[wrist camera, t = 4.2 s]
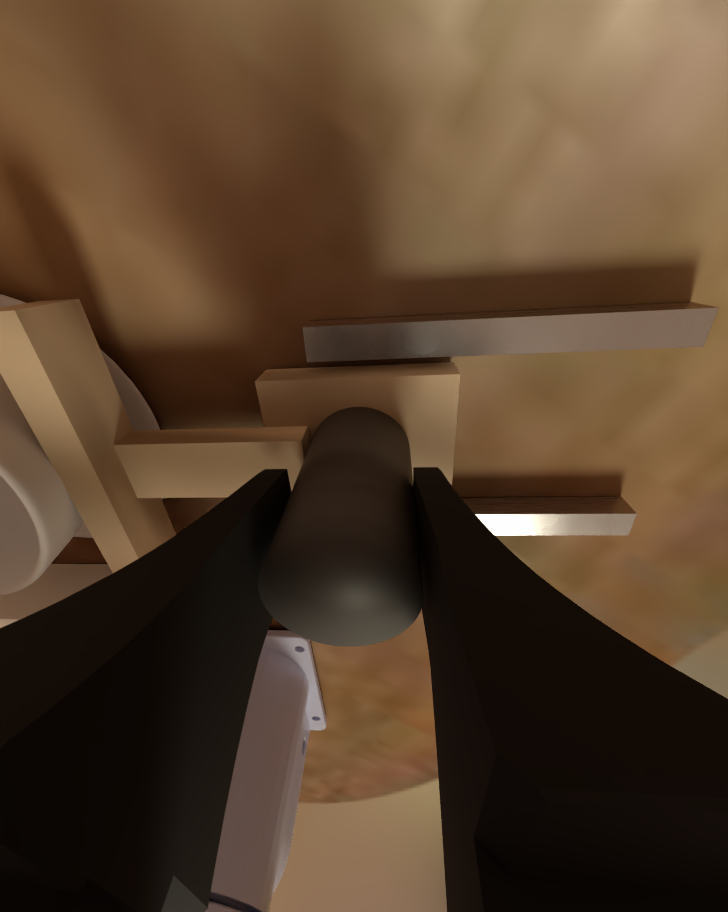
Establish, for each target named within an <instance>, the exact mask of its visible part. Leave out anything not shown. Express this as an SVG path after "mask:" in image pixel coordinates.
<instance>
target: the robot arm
mask: <svg viewBox="0 0 728 912" xmlns="http://www.w3.org/2000/svg"><path fill="white" fill-rule="evenodd" d="M413 492H414V503H415V514H416V521H417V528H418V539H419V549H420V560H421V571H422V581H423V593H424V599H423V605H422V613H423V619H424V625H425V631H426V637H427V643H428V650H429V658H430V666H431V679H432V692H433V705H434V719H435V732H436V746H437V760H438V775H439V790H440V804H441V819H442V835H443V850H444V867H445V882H446V899H447V912H728V699H727V698H725V697H723V696H722V695H720V694H718V693H716V692H715V691H713V690H711V689H710V688H708V687H706V686H704V685H703V684H701V683H699V682H697V681H696V680H693V679H692V678H690V677H689V676H687V675H685V674H683V673H682V672H679V671H678V670H676V669H675V668H673V667H671V666H669V665H668V664H666V663H664V662H663V661H661V660H660V659H658V658H656V657H655V656H653V655H651V654H650V653H648V652H647V651H645V650H644V649H642V648H641V647H639V646H637V645H636V644H634V643H633V642H631V641H630V640H628V639H626V638H625V637H623V636H622V635H620V634H619V633H617V632H616V631H614V630H612V629H611V628H610V627H608V626H607V625H605V624H604V623H602V622H601V621H599V620H598V619H596V618H595V617H593V616H592V615H590V614H589V613H588V612H586V611H585V610H583V609H582V608H581V607H579V606H578V605H577V604H575V603H574V602H573V601H571V600H570V599H569V598H567V597H566V596H564V595H563V594H562V593H560V592H559V591H558V590H556V589H555V588H554V587H552V586H551V585H550V584H549V583H547V582H546V581H545V580H543V579H542V578H541V577H540V576H538V575H537V574H536V573H535V572H534V571H533V570H531V569H530V568H529V567H528V566H527V565H526V564H524V563H523V562H522V561H521V560H520V559H519V558H518V557H516V556H515V555H514V554H513V553H512V552H511V551H510V550H509V549H508V548H507V547H506V546H505V545H504V544H503V543H502V542H501V541H500V540H499V539H498V538H497V537H496V536H495V535H494V534H493V533H492V532H491V531H490V530H489V529H488V528H487V527H486V526H485V525H484V524H483V523H482V521H481V520H480V519H479V518H478V517H477V516H476V515H475V513H474V512H473V511H472V510H471V509H470V508H469V507H468V505H467V504H466V503H465V502H464V501H463V499H462V498H461V497H460V496H459V494H458V493H457V492H456V490H455V489H454V488H453V486H452V485H451V484H450V482H449V481H448V480H447V478H446V477H445V475H444V474H443V472H442V471H441V470H440V469H439V468H438V467H413ZM290 494H291V487H290V481H289V476H288V470H287V469H264V470H263V471H261V472H260V473H258V474H257V475H256V476H254V477H253V478H252V479H250V480H249V481H248V482H246V483H245V484H244V485H243V486H241V487H240V488H239V489H237V490H236V491H235V492H234V493H232V494H231V495H230V496H228V497H227V498H226V499H225V500H223V501H222V502H221V503H219V504H218V505H217V506H215V507H214V508H213V509H212V510H210V511H209V512H208V513H206V514H205V515H203V516H202V517H201V518H199V519H198V520H196V521H195V522H193V523H192V524H191V525H189V526H188V527H186V528H185V529H183V530H182V531H181V532H179V533H178V534H176V535H175V536H174V537H172V538H171V539H169V540H168V541H166V542H165V543H163V544H161V545H160V546H158V547H157V548H155V549H154V550H152V551H150V552H149V553H147V554H145V555H144V556H142V557H140V558H139V559H137V560H135V561H134V562H132V563H130V564H129V565H127V566H125V567H123V568H122V569H120V570H118V571H116V572H114V573H113V574H111V575H109V576H107V577H105V578H103V579H101V580H99V581H97V582H95V583H93V584H91V585H90V586H88V587H86V588H84V589H82V590H80V591H78V592H76V593H74V594H72V595H70V596H68V597H67V598H65V599H63V600H61V601H58V602H56V603H54V604H52V605H50V606H48V607H46V608H44V609H42V610H39V611H37V612H35V613H33V614H31V615H29V616H27V617H24V618H22V619H20V620H18V621H15V622H13V623H11V624H9V625H6V626H4V627H2V628H0V912H269V909H270V904H271V898H272V894H273V893H274V891H275V889H276V887H277V886H278V884H279V882H280V879H281V877H282V875H283V872H284V870H285V867H286V864H287V861H288V857H289V853H290V848H291V842H292V836H293V830H294V823H295V817H296V812H297V806H298V799H299V793H300V787H301V781H302V775H303V769H304V763H305V757H306V751H307V745H308V739H309V733H310V730H324V729H325V728H326V723H327V719H326V715H325V710H324V705H323V700H322V696H321V691H320V686H319V682H318V677H317V672H316V667H315V663H314V658H313V653H312V649H311V644H310V640H309V639H306V638H304V637H302V636H299V635H297V634H295V633H293V632H291V631H290V630H268V629H269V627H270V624H271V621H272V618H273V617H272V616H271V615H270V613H269V612H268V611H267V609H266V608H265V606H264V604H263V603H262V600H261V598H260V595H259V590H258V577H259V573H260V570H261V568H262V565H263V562H264V560H265V557H266V555H267V552H268V550H269V547H270V545H271V542H272V540H273V537H274V535H275V532H276V530H277V527H278V525H279V522H280V519H281V517H282V514H283V512H284V509H285V507H286V504H287V502H288V499H289V497H290Z"/></svg>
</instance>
